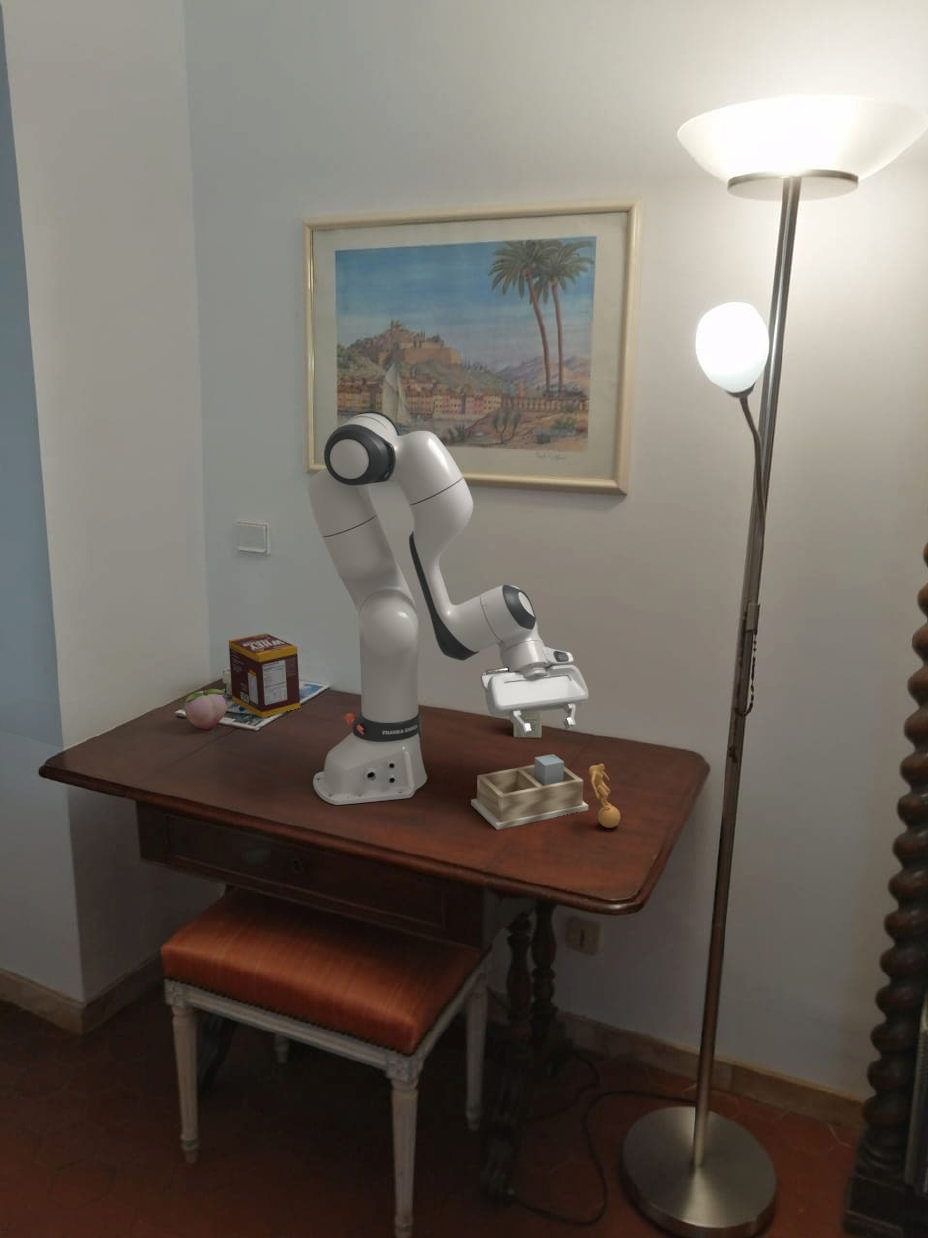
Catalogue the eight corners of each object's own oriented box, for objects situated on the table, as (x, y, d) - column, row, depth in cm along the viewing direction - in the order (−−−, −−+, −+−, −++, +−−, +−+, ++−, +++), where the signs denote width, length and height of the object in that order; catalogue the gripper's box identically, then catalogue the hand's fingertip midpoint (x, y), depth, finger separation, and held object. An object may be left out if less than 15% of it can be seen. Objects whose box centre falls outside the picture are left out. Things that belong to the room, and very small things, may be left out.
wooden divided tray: (496, 830, 174) (497, 799, 173) (471, 804, 184) (471, 775, 182) (588, 810, 182) (589, 780, 180) (558, 786, 192) (559, 758, 190)
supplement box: (268, 691, 244) (265, 632, 240) (301, 708, 232) (298, 646, 228) (231, 701, 237) (227, 639, 233) (262, 719, 226) (258, 654, 222)
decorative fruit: (214, 718, 226) (211, 678, 223) (233, 728, 220) (231, 686, 218) (177, 729, 219) (174, 687, 217) (197, 739, 214) (193, 696, 211)
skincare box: (541, 731, 219) (543, 679, 216) (541, 738, 215) (542, 686, 212) (513, 730, 220) (514, 678, 217) (512, 737, 216) (513, 685, 213)
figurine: (614, 839, 171) (617, 776, 168) (581, 833, 173) (583, 771, 170) (624, 818, 179) (627, 758, 176) (592, 813, 181) (594, 753, 178)
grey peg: (543, 805, 182) (545, 765, 180) (533, 796, 185) (534, 757, 183) (562, 801, 183) (563, 762, 181) (552, 792, 187) (553, 754, 185)
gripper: (483, 662, 179) (505, 731, 173) (579, 652, 188) (602, 717, 182) (472, 678, 184) (493, 745, 178) (565, 667, 193) (588, 731, 187)
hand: (549, 731), depth 180 cm, fingers open, 8 cm apart
